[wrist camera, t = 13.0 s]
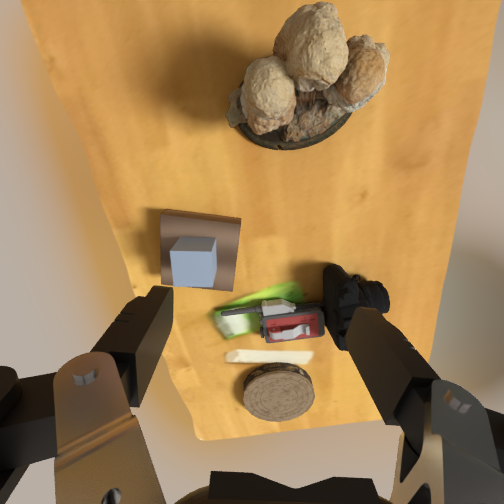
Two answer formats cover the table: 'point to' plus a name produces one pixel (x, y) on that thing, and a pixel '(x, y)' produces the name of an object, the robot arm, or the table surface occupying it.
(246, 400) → the wood log slice
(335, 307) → the film camera
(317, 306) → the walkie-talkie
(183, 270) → the blue cube
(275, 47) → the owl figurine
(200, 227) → the brown block
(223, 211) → the table surface
